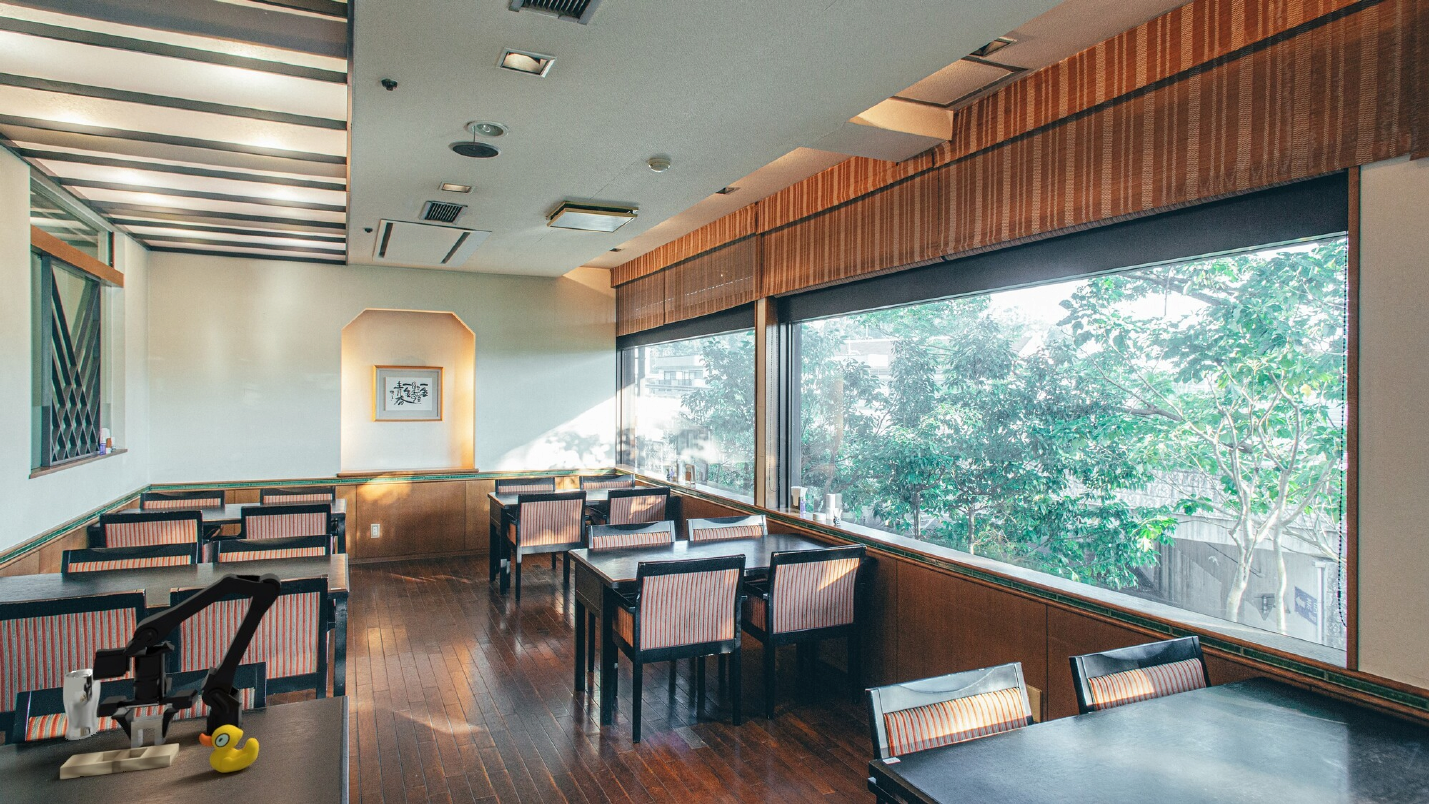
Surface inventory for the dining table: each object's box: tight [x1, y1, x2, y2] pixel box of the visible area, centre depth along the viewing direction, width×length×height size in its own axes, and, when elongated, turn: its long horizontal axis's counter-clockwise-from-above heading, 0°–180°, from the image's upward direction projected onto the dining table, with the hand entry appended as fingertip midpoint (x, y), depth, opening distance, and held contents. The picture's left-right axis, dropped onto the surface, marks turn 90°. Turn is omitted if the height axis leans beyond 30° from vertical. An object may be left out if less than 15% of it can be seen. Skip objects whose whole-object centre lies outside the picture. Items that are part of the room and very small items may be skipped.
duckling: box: [198, 725, 260, 774], centre depth 170 cm, size 11×5×10 cm, turn 111°
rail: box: [59, 742, 180, 780], centre depth 171 cm, size 20×6×2 cm, turn 109°
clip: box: [130, 714, 167, 749], centre depth 182 cm, size 6×3×6 cm, turn 109°
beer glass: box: [62, 667, 101, 741], centre depth 186 cm, size 7×7×15 cm
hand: (148, 738), depth 182 cm, fingers closed on clip, 6 cm apart
